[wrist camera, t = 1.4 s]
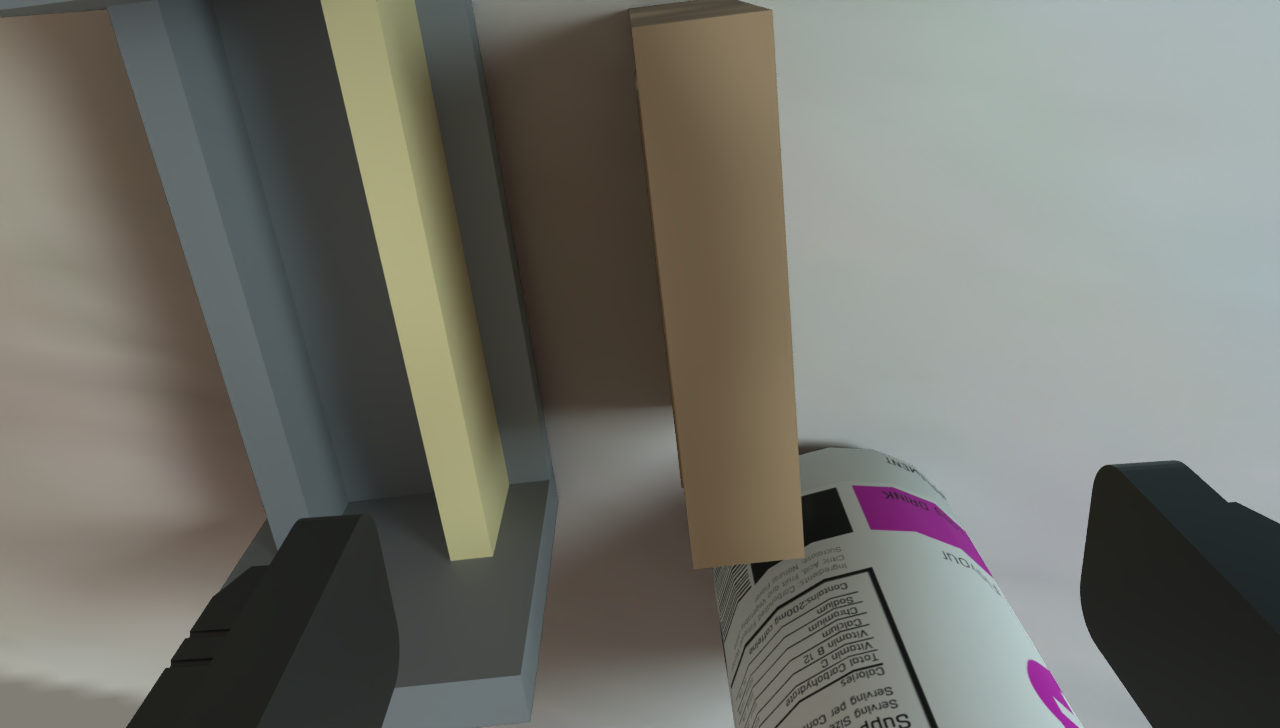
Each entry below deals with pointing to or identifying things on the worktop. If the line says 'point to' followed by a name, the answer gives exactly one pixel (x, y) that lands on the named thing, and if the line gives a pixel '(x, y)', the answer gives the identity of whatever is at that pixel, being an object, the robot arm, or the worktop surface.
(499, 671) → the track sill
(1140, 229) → the worktop surface
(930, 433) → the worktop surface
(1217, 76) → the worktop surface
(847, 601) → the supplement can
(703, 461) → the door panel
